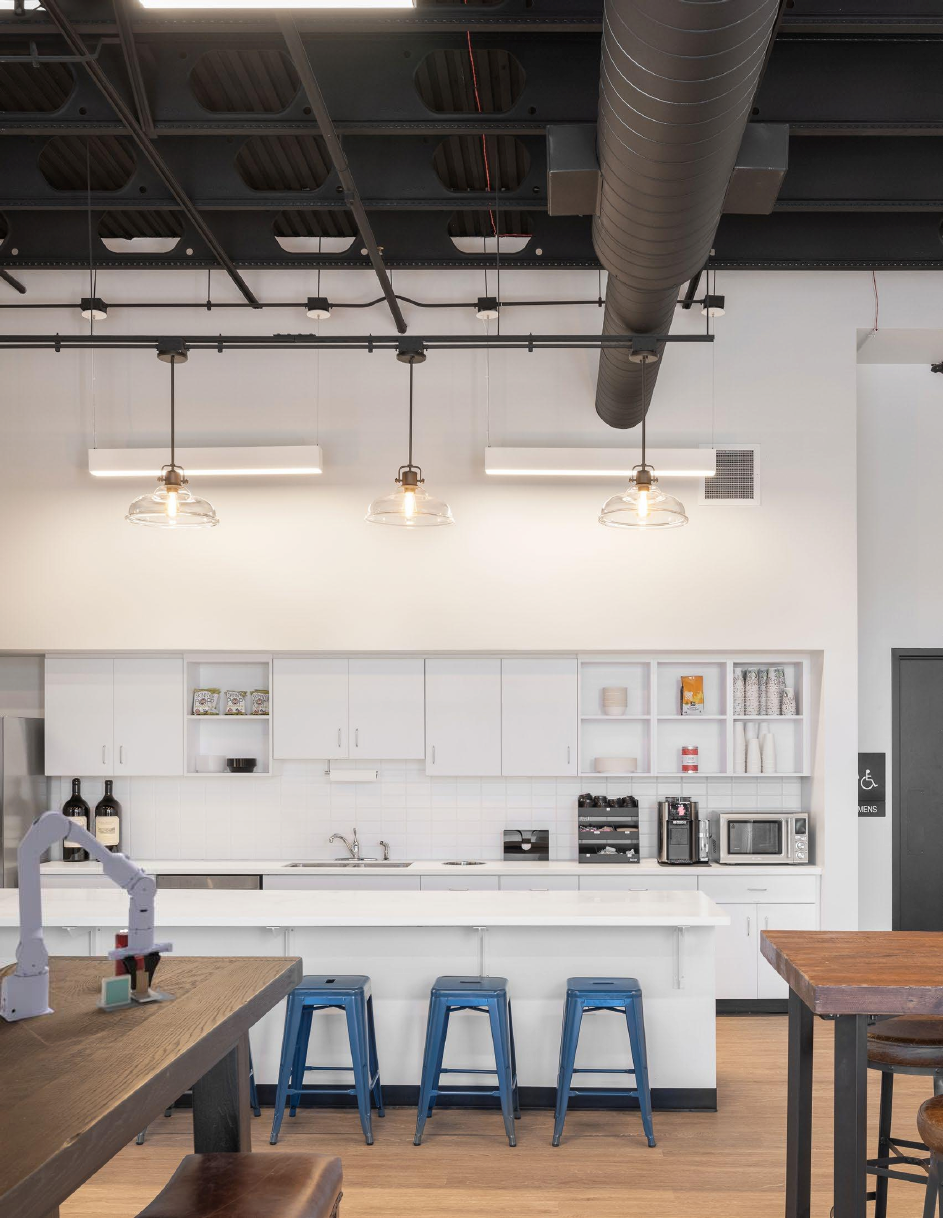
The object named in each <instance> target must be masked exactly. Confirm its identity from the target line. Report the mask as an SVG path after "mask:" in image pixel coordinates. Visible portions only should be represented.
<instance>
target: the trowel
mask: <svg viewBox="0 0 943 1218" xmlns="http://www.w3.org/2000/svg"><path fill="white" fill-rule="evenodd" d="M148 981H149V972H148V971H146V970H139V971H137V972H136V990H131V993H130V997H132V998H134V999H136V1000H137V1001H139V1002H144V1001H150V1000H155V999H161V998H162V996H161V995H159V994H157V993H156V992H154V991H155V990H152V989H150V988H148Z"/></svg>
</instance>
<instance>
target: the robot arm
mask: <svg viewBox="0 0 943 1218" xmlns="http://www.w3.org/2000/svg"><path fill="white" fill-rule="evenodd" d="M61 840H64V841H65V842H69V843H74V844H78V845H79V846H81V847H82V848H83V849H84V850H85V851H86V852H88V853H89V854H90V855H91V856H93V857H94V858H95V859H96V860H98V861H99V862H100V863H101V864H102V873H104V875H105V876H106V877H108V878H109V879H110V880H111V881H113V882H114V883H115V884H116V885H118V886H119V888H121V889H122V890H126V892H127V894H128V896H130V897H129V906H128V907H129V908H128V929H127V930H128V947H126V948H121V949H117V950H115V949H114V950H113V949H112V950H108V952H107V959H108V961H111V962H115V960H117V959H121V962H122V964H123V966H124V968H125V971H126V973H127V974H129V975H131V990H136V972H137V965H138V961H137V960H136V958H134V957H136V956H143V957H144V967H145V970H146V971H148V972H149V981H148V989H150V988H151V987H152V981H153V978H154V975H155V972H156V969H157V967H158V965H159V963H160V961H161V958H162V955H161V954H162V953H173V949H174V947H173V945H174V944H173V943H172V942H171V941H167V942H157V943H155V906H154V905H155V897H156V895H157V893H158V887H157V885H156V884H157V883H156V881H155V880H154V879H152V878H151V877H150V876H149V874H147V873H146V869H144V868H140V867H139V866H137V865H136V864H135V863H134V862H133V861H132V860H131V856H130V855H129V854H128V853H125V854H123V852H111V851H110V850H109V849H108V847H106V846H105V845H104V844H102V842H101V841H99V840H98V839H97V838H96V837H95V836H94V835H92V833H91V832H89V831H88V830H87V829H86V828H85V827H84V826H82V825H81V824H79V823H78V822H76V821H74V820H72V819H71V818H69V817H67V816H66V815H64V814H63V813H62V812H61V811H58V810H52V809H51V810H48V811H44V812H43V813H41V814H40V815H39V816H38V817H37V818H36V819H35V820H33V821H32V823H31V825H30V826H29V828H28V831H27V832H26V833H25V835H24V837H22V840H21V841H20V842H19V844H18V846H17V851H16V853H17V854H16V855H17V877H18V879H17V880H18V884H17V885H18V906H19V907H18V909H19V910H18V911H19V943H18V946H17V947H16V950H15V958H16V961H17V966H16V968H15V969H14V970H13V974H11V975H9V976H4V977H3V978H2V982H1V986H0V987H1V989H0V991H1V992H0V1015H1V1017H3V1018H4V1019H5V1020H6V1021H8V1022H13V1021H19V1020H21V1019H22V1020H23V1019H27V1018H34V1017H37V1016H42V1015H48V1014H53V1013H55V1011H54V1010H53V1009H51V1008H50V1007H49V988H50V986H49V983H50V967H49V966H47V965H48V962H49V959H50V958H49V957H50V956H49V952H48V950H47V949H46V948H47V947H46V944H45V943H44V934H43V933H44V932H43V916H42V915H43V914H42V913H43V911H42V890H41V889H42V887H41V865H40V864H41V862H40V860H41V859H40V857H41V855H42V854H44V852H45V851H47V849H48V848H50V846H51V845H53V844H55V843H57V842H59V841H61Z"/></svg>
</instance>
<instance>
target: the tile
mask: <svg viewBox="0 0 943 1218" xmlns="http://www.w3.org/2000/svg"><path fill="white" fill-rule="evenodd" d="M130 993H131V975H129V974H127V975H121V976H115V975H114V976H110V977H104V978H101V1001H102V1003H101V1006H102V1007H103V1008H104V1007H110V1006H115V1005H120V1004H126V1003H130Z"/></svg>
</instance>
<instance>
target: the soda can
mask: <svg viewBox="0 0 943 1218" xmlns="http://www.w3.org/2000/svg"><path fill="white" fill-rule="evenodd" d="M126 947H128V929H123V930H120V931H117V932H116V933H115V935H114V950H117V949H121V948H126ZM134 958H136V960H137V961H138V965H137V971H139V970H145V967H144V957H143V956H136V957H134ZM121 975H127V973H126V971H125V968H124V966H123V964H122V962H121V959H117V960H115V961H114V977H115V976H121Z"/></svg>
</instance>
